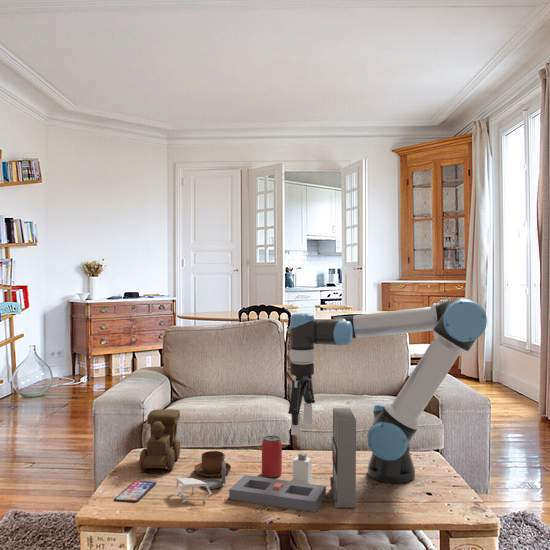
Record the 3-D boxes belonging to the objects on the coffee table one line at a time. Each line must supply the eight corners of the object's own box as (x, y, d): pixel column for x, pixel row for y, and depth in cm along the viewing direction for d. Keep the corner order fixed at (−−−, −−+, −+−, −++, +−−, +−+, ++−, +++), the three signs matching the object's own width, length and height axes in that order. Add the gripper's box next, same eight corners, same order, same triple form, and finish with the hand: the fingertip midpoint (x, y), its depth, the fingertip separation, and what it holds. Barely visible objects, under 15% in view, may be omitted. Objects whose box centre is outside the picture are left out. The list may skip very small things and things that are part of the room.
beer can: (282, 471, 187) (282, 435, 187) (280, 478, 181) (280, 441, 181) (262, 470, 188) (263, 434, 188) (260, 477, 182) (260, 440, 181)
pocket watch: (197, 485, 175) (197, 453, 175) (219, 478, 180) (219, 447, 180) (211, 493, 169) (212, 460, 169) (234, 486, 174) (234, 454, 174)
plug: (311, 479, 180) (311, 453, 180) (308, 484, 176) (308, 457, 176) (296, 477, 182) (296, 451, 182) (292, 482, 178) (292, 455, 178)
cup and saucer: (196, 466, 192) (196, 448, 192) (231, 466, 192) (231, 448, 192) (192, 480, 180) (192, 461, 180) (230, 479, 180) (230, 460, 180)
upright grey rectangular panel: (329, 489, 172) (330, 407, 172) (349, 489, 172) (350, 407, 172) (334, 508, 159) (334, 420, 158) (356, 508, 159) (356, 420, 158)
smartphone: (112, 499, 163) (134, 480, 178) (112, 502, 163) (134, 483, 178) (137, 501, 162) (157, 481, 177) (137, 504, 162) (157, 484, 177)
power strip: (325, 495, 167) (325, 483, 167) (315, 512, 156) (315, 498, 156) (244, 484, 176) (244, 472, 176) (229, 499, 164) (229, 486, 164)
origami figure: (168, 503, 162) (168, 486, 162) (177, 492, 170) (177, 475, 170) (208, 506, 160) (209, 488, 160) (216, 494, 168) (216, 478, 168)
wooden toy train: (151, 454, 204) (151, 408, 204) (182, 454, 204) (182, 409, 204) (137, 474, 184) (137, 424, 184) (171, 475, 184) (172, 424, 184)
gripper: (301, 355, 192) (302, 418, 192) (278, 368, 168) (278, 438, 168) (323, 357, 189) (323, 420, 189) (302, 369, 166) (302, 441, 166)
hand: (302, 429), depth 179 cm, fingers open, 13 cm apart
